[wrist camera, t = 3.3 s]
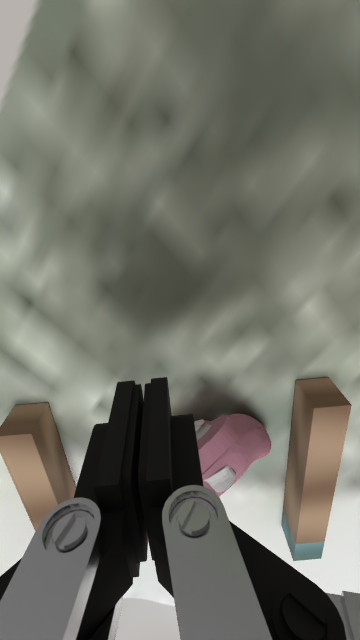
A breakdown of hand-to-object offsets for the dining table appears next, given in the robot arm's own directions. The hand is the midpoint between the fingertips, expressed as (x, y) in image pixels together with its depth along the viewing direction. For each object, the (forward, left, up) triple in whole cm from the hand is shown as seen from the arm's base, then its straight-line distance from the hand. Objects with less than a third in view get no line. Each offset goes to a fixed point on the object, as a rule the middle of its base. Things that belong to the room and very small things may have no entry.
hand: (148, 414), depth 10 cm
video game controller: (+9, +1, -7) cm, 11 cm away
